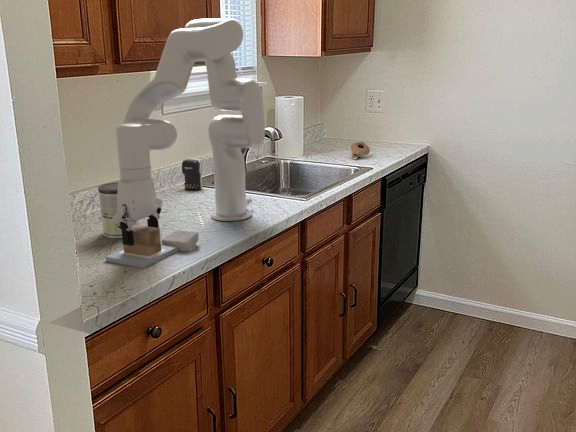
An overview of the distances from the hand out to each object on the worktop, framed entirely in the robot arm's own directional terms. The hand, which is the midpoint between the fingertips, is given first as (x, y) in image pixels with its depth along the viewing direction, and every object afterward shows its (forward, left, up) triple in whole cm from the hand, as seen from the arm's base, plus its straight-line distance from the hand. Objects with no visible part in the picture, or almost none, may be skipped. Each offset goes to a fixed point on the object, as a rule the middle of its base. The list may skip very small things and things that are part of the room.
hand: (141, 239), depth 154 cm
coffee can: (-13, -19, -5) cm, 24 cm away
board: (0, 0, -4) cm, 4 cm away
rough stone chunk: (-10, +4, -5) cm, 12 cm away
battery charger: (-66, -32, -5) cm, 73 cm away
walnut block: (0, 0, -3) cm, 3 cm away
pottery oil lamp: (-149, +3, -5) cm, 149 cm away
